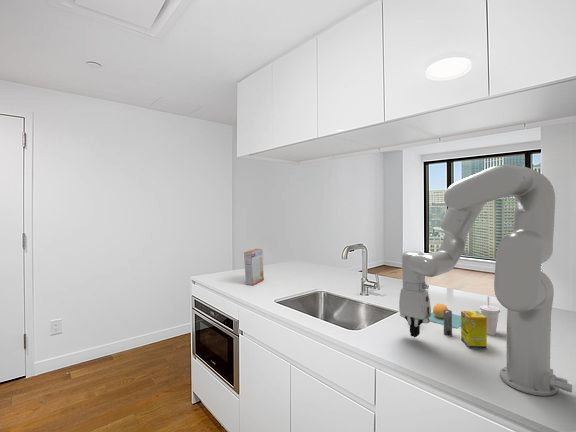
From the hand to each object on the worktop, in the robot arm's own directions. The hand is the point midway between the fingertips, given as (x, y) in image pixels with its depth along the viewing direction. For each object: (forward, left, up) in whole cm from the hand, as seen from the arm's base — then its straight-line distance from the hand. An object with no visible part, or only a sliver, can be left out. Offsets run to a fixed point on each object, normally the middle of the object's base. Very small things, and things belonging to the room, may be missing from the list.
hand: (414, 335), depth 113 cm
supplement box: (-16, -11, -2) cm, 19 cm away
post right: (-6, -13, -2) cm, 15 cm away
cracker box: (+110, -7, -2) cm, 111 cm away
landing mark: (0, -28, -2) cm, 28 cm away
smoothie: (-17, -25, -2) cm, 30 cm away
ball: (+2, -28, +1) cm, 28 cm away
